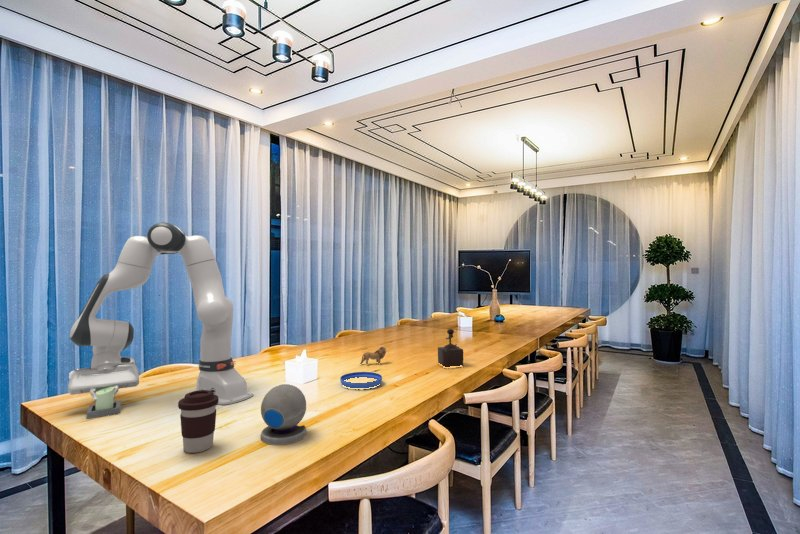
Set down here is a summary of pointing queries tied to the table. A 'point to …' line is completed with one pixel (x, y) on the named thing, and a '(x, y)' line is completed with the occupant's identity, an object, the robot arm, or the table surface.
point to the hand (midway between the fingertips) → (104, 400)
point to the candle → (104, 398)
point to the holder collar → (103, 411)
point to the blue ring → (361, 374)
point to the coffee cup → (198, 420)
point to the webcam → (283, 415)
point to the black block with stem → (450, 353)
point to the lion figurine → (374, 355)
